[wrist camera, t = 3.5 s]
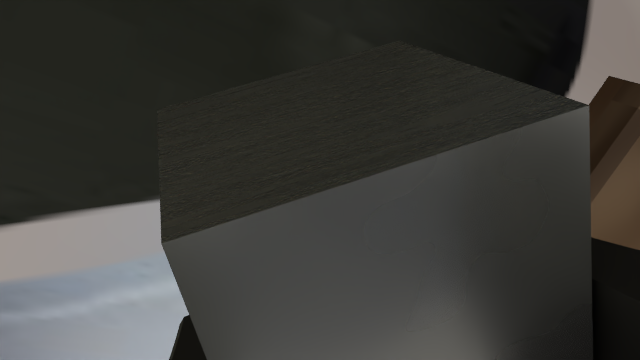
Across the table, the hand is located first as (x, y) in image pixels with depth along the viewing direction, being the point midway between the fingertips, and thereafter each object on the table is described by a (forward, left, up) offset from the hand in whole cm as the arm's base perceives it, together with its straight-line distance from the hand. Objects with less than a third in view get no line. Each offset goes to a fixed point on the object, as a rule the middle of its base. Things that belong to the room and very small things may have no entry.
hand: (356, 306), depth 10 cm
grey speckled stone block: (0, 0, -2) cm, 2 cm away
